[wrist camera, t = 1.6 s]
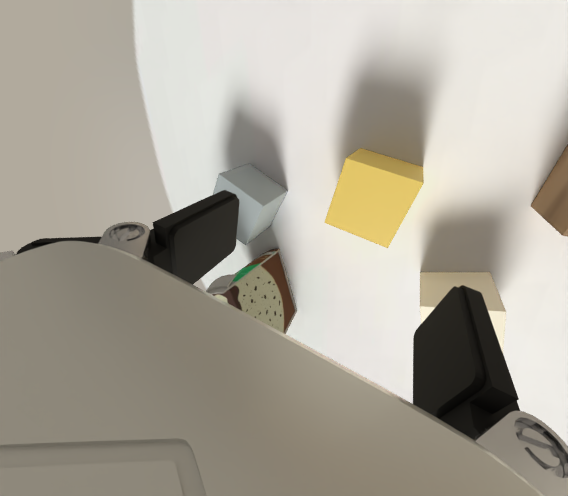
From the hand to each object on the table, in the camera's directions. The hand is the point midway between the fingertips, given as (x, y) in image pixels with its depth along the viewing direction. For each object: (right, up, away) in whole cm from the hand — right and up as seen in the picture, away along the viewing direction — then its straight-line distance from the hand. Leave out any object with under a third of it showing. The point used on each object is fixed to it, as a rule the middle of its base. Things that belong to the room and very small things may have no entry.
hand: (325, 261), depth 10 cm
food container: (-4, -4, +22) cm, 22 cm away
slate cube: (-4, +6, +16) cm, 18 cm away
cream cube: (+14, -4, +12) cm, 18 cm away
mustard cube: (+6, +6, +10) cm, 13 cm away
